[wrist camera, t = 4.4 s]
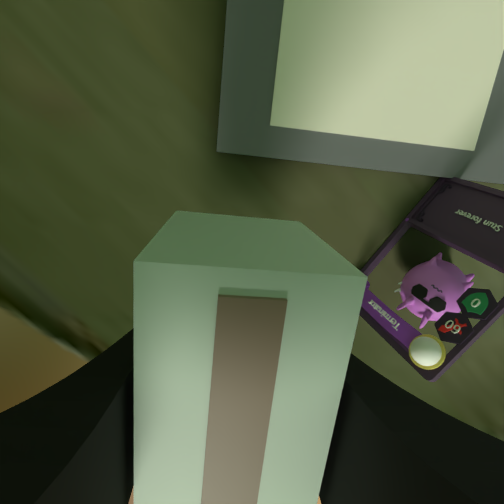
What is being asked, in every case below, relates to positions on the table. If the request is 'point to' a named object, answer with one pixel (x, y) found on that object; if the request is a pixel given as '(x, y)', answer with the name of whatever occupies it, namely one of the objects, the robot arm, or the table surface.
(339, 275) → the mint slotted box
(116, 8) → the table surface
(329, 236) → the table surface
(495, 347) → the table surface
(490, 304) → the game card
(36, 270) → the table surface
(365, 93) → the mat
